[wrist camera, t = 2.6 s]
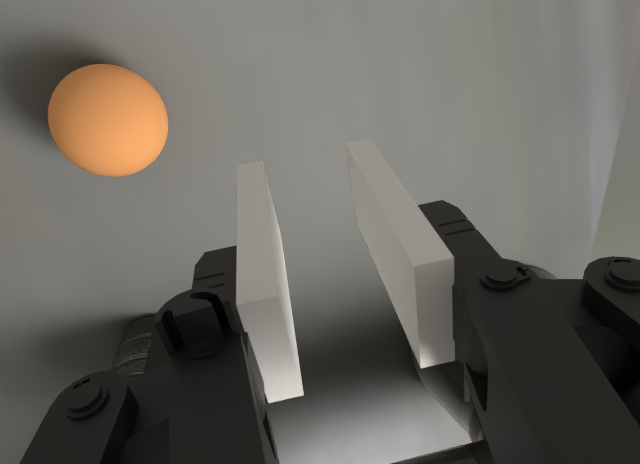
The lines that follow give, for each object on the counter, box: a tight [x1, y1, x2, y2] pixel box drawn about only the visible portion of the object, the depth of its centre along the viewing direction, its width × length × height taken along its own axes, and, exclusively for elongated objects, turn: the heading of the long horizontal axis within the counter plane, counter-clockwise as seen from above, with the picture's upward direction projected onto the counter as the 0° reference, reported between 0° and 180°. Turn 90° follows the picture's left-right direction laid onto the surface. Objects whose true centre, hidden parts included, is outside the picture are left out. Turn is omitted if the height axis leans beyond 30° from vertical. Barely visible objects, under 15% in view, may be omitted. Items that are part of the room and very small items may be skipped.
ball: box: [48, 64, 168, 177], centre depth 26 cm, size 6×6×6 cm
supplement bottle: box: [107, 316, 169, 382], centre depth 33 cm, size 7×7×12 cm
